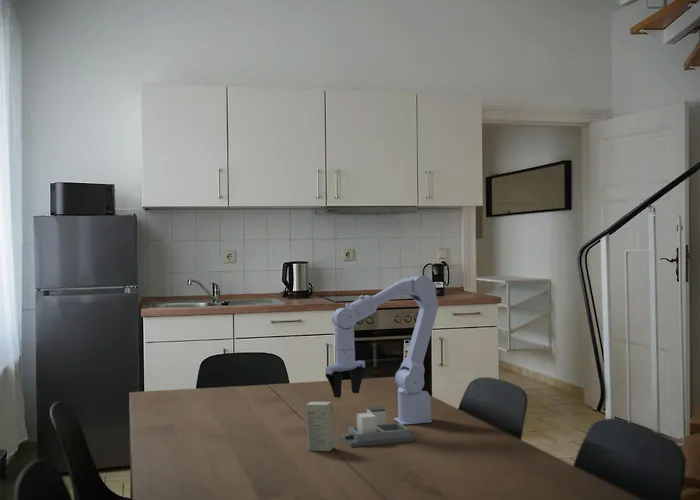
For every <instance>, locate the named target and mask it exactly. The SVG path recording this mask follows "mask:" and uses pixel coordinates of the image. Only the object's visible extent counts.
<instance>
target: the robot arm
mask: <svg viewBox="0 0 700 500" xmlns="http://www.w3.org/2000/svg"><path fill="white" fill-rule="evenodd" d="M436 290H437V286H436V284H435V283H434V282H433V280H432V279H431V278H430V277H429V276H428V275H427V276H426V275H414V274H413V275H412V274H411V275H409V276H407V277H404V278H402V279H399V280H398V281H396V282H395V283H393V284H391V285H390V286H388V287H386V288H384V289H382V290H381V291H379V292H378V293H376V294H374V295H373V296H371V295H368V294H365V295H363V294H361V295H360V296H358V299H356V300H355V301H352V302H351V303H345V305H344V306H345V307H340V308H337V309H336V310H334V312H333V314H332V317H331V321H332V323H333V325H334V348H335V351H334V352H335V353H334V354H335V362H334V363H333V364H332V365H328V366H325V377H326V379H327V380H328V381H327V382H329V385H330V387H331V390H332V394H333V397H334V398H337V399H340V398H341V397H342V383H343V378H344V374H340V373H341V372H345V371H348V373H349V378H350V384H351V385H350V386H351V392H352V393H353V394H358V395H359V394H360V393H359V392H360V389H361V385H362V381H363V378H364V377H365V374H366V373H367V370H366V360H356V349H355V348H356V347H355V330H354V329H355V328H354V326H355V325H356V324H357V322H360V321H361V320H363V319H365V318H367V317H369V316H371V315H373V314H374V313H376V312H377V309H378V307H379V306H381V305H383V304H384V303H387V302H389V301H391V300H393V299H395V298H397V297H398V296H401V295H404V296H406V295H407V296H408V295H409V297H411V298H412V299H413V300H414V301H415V303H416V304H417V306H418V307H419V310H418V314H417V317H416V322H415V325H414V328H413V331H412V336H411V340H410V343H409V346H408V350H407V354H406V356H405V358H404V360H403V361H402V362H401V364H400V367H399V369H398V370H397V371H396V373H395V374H394V375H395V376H394V383H395V384H396V385H397V386H398V388H397V410H398V411H397V413H398V414H397V417H394V418H393V420H394V421H396V423H401V424H402V425H404V426H405V425H415V424H426V423H432V422H433V420H432V410H431V409H432V407H431V396H430V393H429V392H428V391H427V390H423V388H424V386H425V378H424V377H425V375H424V374H425V371H426V370H425V366H424V362H425V361H424V360H425V358H426V357H425V356H426V354H427V353H426V352H427V350H428V346H429V343H430V338H431V334H432V331H433V328H434V324H435V320H436V317H437V313H438V311H439V310H438V309H439V300H438V297H437V293H436Z"/></svg>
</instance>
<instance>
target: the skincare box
mask: <svg viewBox="0 0 700 500" xmlns="http://www.w3.org/2000/svg"><path fill="white" fill-rule="evenodd" d="M304 406H305V423H306V441H307V451H309V452H310V451H312V452H314V451H315V452H319V451H320V452H330V451H332V450H333V449H334V448H335V431H334V414H333V413H334V411H333V402H332V401H310V402H308V403H306V404H304Z"/></svg>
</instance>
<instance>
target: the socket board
mask: <svg viewBox="0 0 700 500" xmlns="http://www.w3.org/2000/svg"><path fill="white" fill-rule="evenodd" d="M347 430H348V431H347V433H346V434H340V439H341V440H342V442H344V443H346V445H348V446H349V447H350V448H356V447H367V446H377V445H385V444H386V445H387V444H395V443H407V442H415V441H416V437H415V436H413V434H411V429H410V428H409V427H407V426H405V425H402V424H401V423H399V422H392V423H386V424H379V425H376V416H375V415H374V414H372V413H367V412H364V413H363V412H362V413H356V426H348V427H347Z"/></svg>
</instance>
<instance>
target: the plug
mask: <svg viewBox="0 0 700 500" xmlns="http://www.w3.org/2000/svg"><path fill="white" fill-rule="evenodd" d="M366 413H372V414H374V415H375V416H376V425H379V424H387V421H386V414H387V412H386V409H385V408H384V407H382V406H379V405H378V406H367V408H366Z"/></svg>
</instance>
